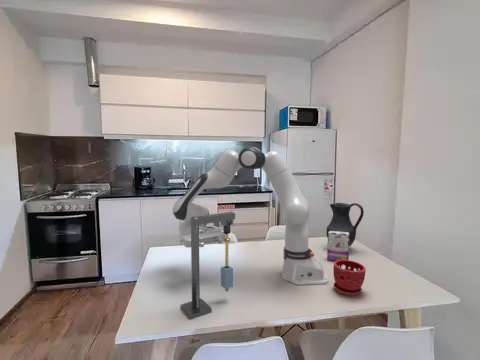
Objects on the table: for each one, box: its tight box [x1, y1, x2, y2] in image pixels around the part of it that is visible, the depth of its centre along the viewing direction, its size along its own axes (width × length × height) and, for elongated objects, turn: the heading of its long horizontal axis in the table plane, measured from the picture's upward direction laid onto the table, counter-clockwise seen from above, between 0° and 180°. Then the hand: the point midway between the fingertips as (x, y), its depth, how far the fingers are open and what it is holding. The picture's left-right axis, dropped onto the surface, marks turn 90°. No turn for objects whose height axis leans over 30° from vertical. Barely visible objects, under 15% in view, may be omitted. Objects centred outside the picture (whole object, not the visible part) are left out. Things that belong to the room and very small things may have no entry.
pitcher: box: [326, 202, 364, 248], centre depth 179 cm, size 17×21×30 cm
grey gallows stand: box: [179, 211, 236, 320], centre depth 116 cm, size 22×9×36 cm, turn 124°
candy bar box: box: [326, 231, 350, 263], centre depth 164 cm, size 11×5×16 cm, turn 68°
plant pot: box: [332, 260, 367, 296], centre depth 130 cm, size 13×13×12 cm
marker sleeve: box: [220, 264, 234, 289], centre depth 121 cm, size 4×4×8 cm
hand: (212, 243), depth 130 cm, fingers open, 8 cm apart
